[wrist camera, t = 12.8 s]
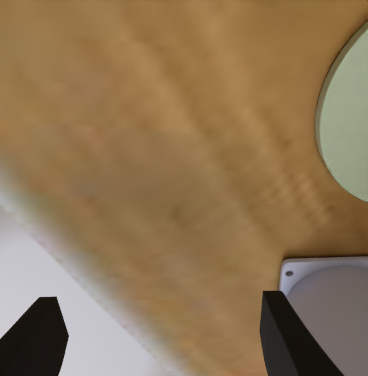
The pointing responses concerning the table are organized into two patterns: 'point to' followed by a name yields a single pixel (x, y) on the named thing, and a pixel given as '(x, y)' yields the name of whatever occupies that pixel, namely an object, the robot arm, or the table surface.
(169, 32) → the table surface
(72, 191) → the table surface
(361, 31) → the plate
